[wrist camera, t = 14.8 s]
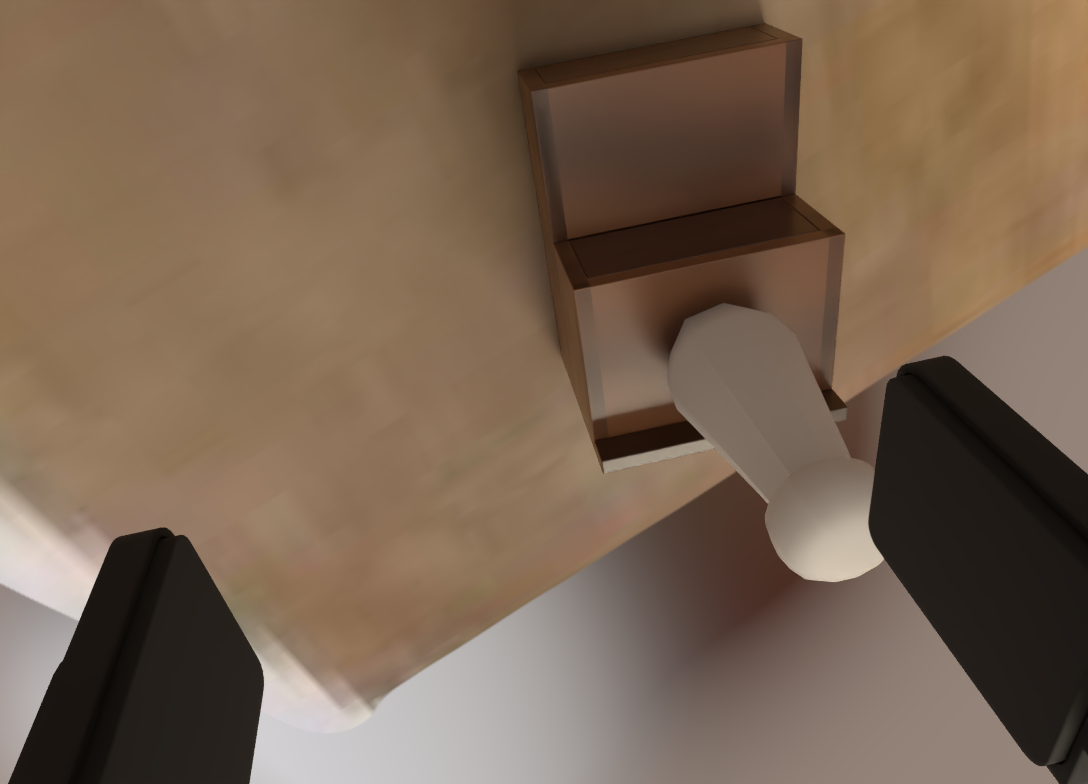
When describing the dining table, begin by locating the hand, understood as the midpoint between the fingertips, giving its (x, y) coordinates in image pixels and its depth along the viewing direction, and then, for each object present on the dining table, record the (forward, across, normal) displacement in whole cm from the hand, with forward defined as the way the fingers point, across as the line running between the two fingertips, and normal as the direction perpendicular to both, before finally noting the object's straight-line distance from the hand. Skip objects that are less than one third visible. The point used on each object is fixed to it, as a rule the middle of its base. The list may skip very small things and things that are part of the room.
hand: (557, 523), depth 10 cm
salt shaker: (+22, -10, +12) cm, 27 cm away
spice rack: (+30, -10, +9) cm, 33 cm away
